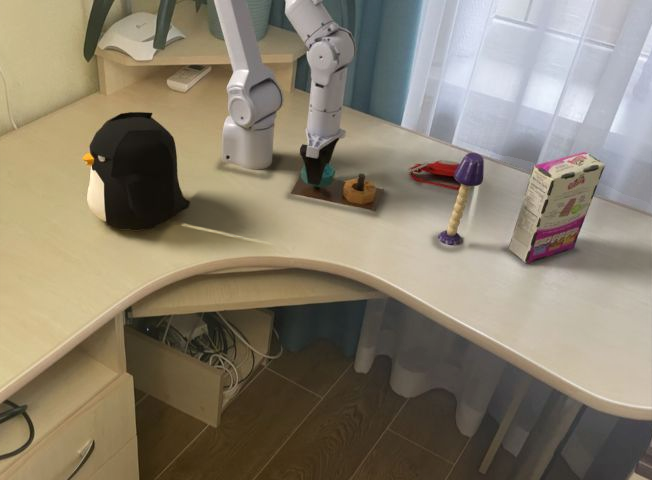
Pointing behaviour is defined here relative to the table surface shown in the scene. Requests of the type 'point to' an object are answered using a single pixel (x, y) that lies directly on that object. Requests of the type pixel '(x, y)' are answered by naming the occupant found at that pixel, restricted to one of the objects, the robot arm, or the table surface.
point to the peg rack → (335, 192)
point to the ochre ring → (359, 192)
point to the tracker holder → (435, 171)
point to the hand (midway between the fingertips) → (317, 175)
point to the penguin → (134, 173)
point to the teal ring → (326, 178)
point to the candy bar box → (555, 206)
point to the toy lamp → (463, 194)
